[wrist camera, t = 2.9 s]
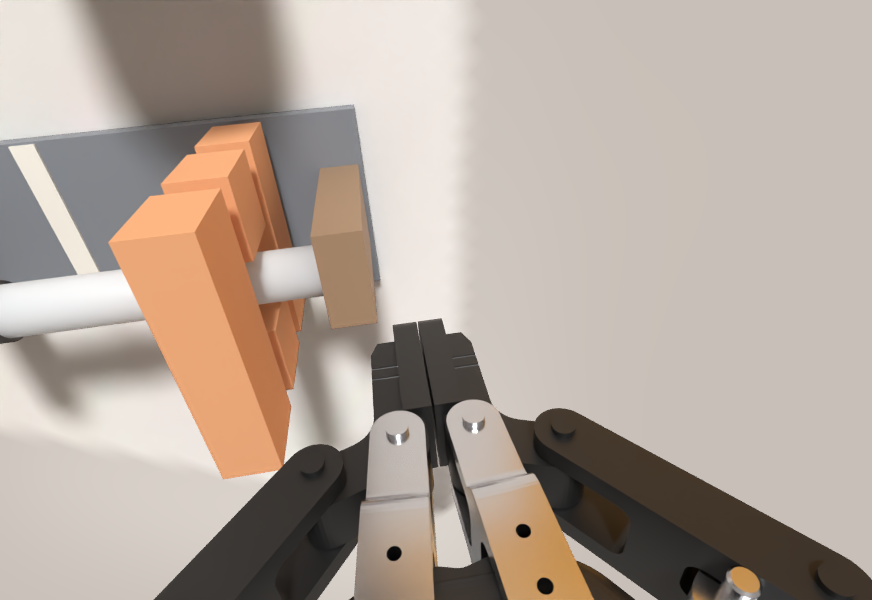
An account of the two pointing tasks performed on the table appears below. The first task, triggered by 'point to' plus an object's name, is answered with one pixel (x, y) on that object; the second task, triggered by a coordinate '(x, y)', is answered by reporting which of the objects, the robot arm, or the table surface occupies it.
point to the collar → (219, 295)
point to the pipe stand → (142, 176)
